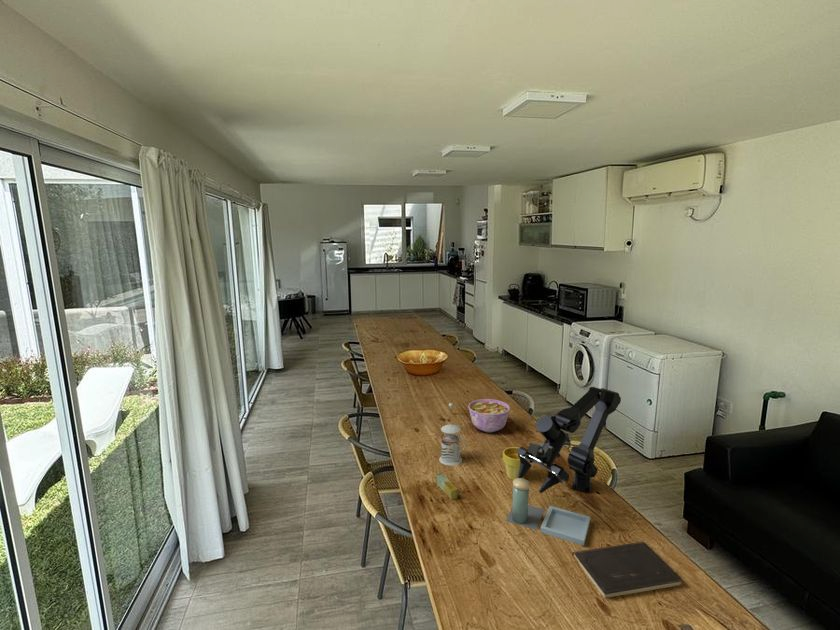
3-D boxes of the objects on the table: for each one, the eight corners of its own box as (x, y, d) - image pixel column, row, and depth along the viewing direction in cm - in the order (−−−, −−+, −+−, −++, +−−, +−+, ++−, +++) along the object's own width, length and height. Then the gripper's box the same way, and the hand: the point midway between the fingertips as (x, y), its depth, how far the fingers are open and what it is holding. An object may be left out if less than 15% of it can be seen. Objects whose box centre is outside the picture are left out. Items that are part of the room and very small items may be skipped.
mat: (515, 502, 154) (515, 501, 154) (544, 510, 150) (544, 509, 150) (505, 521, 144) (505, 520, 144) (535, 531, 139) (535, 529, 139)
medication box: (436, 484, 167) (435, 474, 166) (442, 482, 168) (442, 472, 167) (451, 500, 156) (451, 490, 156) (458, 498, 157) (458, 488, 157)
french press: (445, 452, 191) (445, 397, 187) (470, 458, 185) (470, 402, 181) (434, 461, 183) (434, 405, 179) (459, 469, 177) (460, 410, 173)
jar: (514, 512, 148) (515, 476, 146) (529, 517, 146) (531, 480, 143) (509, 521, 144) (511, 484, 141) (525, 526, 141) (527, 488, 139)
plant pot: (529, 471, 175) (530, 448, 173) (528, 485, 165) (529, 461, 163) (503, 467, 178) (504, 445, 176) (501, 481, 168) (501, 457, 166)
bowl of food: (465, 435, 207) (465, 412, 205) (470, 418, 226) (470, 397, 224) (508, 440, 202) (509, 416, 200) (510, 422, 221) (510, 400, 219)
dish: (549, 511, 149) (549, 505, 149) (589, 522, 143) (590, 516, 143) (540, 533, 138) (540, 527, 138) (583, 546, 132) (584, 540, 132)
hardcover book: (682, 587, 117) (683, 580, 117) (604, 601, 113) (604, 593, 113) (642, 547, 133) (642, 540, 132) (572, 557, 129) (572, 550, 128)
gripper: (520, 424, 153) (497, 463, 148) (565, 445, 138) (540, 488, 133) (535, 440, 159) (512, 477, 154) (579, 461, 143) (556, 503, 139)
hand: (529, 485), depth 145 cm, fingers open, 9 cm apart
